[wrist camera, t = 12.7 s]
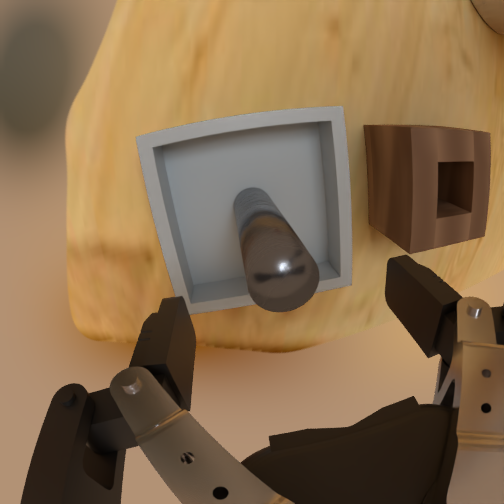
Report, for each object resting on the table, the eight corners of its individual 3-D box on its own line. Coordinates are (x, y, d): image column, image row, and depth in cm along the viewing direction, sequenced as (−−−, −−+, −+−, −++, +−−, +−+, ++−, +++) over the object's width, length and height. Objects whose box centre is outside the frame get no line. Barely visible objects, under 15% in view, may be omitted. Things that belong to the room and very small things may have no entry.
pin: (269, 184, 22) (317, 241, 11) (273, 220, 23) (320, 304, 12) (230, 190, 22) (241, 255, 11) (236, 227, 23) (252, 317, 12)
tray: (323, 109, 21) (342, 106, 17) (335, 264, 27) (351, 285, 23) (149, 135, 21) (135, 136, 17) (186, 290, 26) (182, 315, 23)
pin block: (439, 126, 22) (490, 132, 16) (439, 212, 26) (484, 236, 19) (363, 125, 22) (410, 127, 15) (369, 223, 25) (409, 254, 19)
